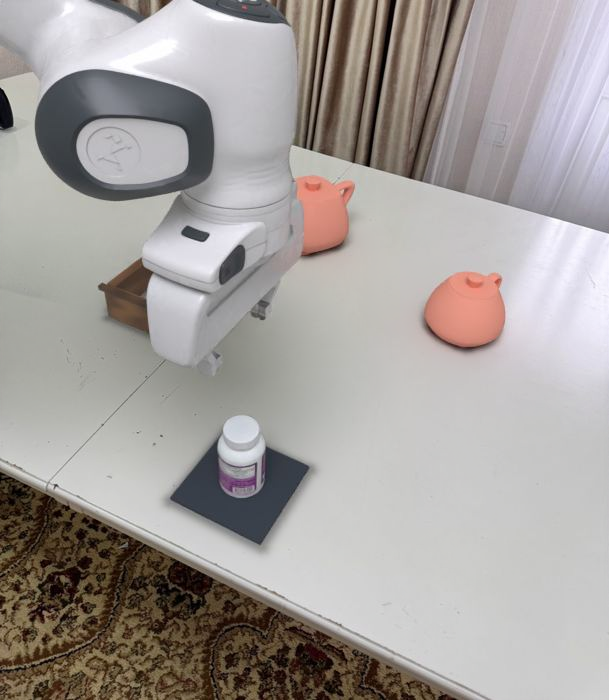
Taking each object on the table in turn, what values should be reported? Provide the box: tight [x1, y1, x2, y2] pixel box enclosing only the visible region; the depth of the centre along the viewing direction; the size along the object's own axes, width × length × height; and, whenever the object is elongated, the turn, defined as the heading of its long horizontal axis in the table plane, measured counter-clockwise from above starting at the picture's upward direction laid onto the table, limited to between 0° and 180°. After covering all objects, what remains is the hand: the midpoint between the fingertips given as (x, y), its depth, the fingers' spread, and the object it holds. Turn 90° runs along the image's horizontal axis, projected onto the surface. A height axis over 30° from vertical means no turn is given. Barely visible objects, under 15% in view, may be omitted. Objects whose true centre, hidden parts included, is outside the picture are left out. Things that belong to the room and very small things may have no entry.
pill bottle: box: [217, 414, 267, 498], centre depth 71 cm, size 5×5×10 cm
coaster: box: [169, 432, 310, 546], centre depth 74 cm, size 12×12×1 cm
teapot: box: [294, 174, 356, 256], centre depth 111 cm, size 13×20×12 cm, turn 122°
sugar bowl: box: [423, 270, 506, 349], centre depth 95 cm, size 12×14×10 cm
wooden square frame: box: [97, 256, 154, 334], centre depth 97 cm, size 17×18×6 cm
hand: (236, 341), depth 60 cm, fingers open, 8 cm apart
